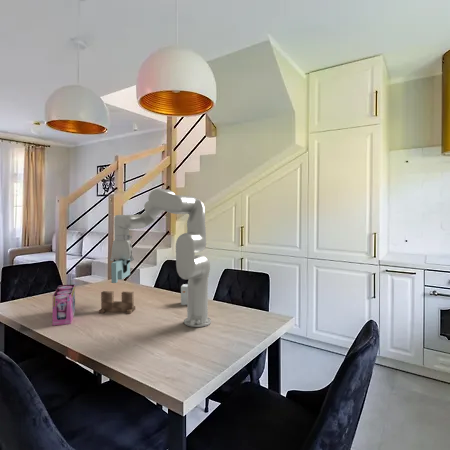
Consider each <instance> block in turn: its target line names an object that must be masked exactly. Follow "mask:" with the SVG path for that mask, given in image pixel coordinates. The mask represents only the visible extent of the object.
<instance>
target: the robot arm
mask: <svg viewBox="0 0 450 450" xmlns="http://www.w3.org/2000/svg"><path fill="white" fill-rule="evenodd" d="M143 206H144V207H143V208H144V212H142V213H141V214H116V215H115V216H114V217H113V219H114V221H113V222H114V223H113V224H114V225H113V226H114V227H113V228H114V229H113V230H114V231H113V232H114V236H113V237H114V240H113V241H112V246H111V256H110V259H109V261H111V262H112V263H113V262H115V261H117V260H120V259H124V266H123V273H125V272H126V271H127V264H128V263H129V262H130V263H131V262H132V261H135V259H134V256H133V255H134V254H133V243H132V241H131V240H130V239H132V237H133V236H132V235H130V230H141V229H144V228H147V227H148V226H150V225H152V224H153V223H154V222H155V220H156V219H157V217H158V216H159V215H160V214H162V213H163V212H168V213H170V214H174V215H185V214H187V215H188V218H187V220H186V230H187V231H186V232H185V233H181V234H180V235H179V236H178V237H177V239H176V242H175V266H176V272H177V274H178V276H179V277H180V278H181V279H182V280H188V281H187V284H188V286H187V305H186V306H187V308H186V311H187V315H186V316H187V317H186V318H184V319H183V323H184V325H186V326H187V327H191V328H202V327H206V326H209V325H210V324H211V323H212V320H211V318H210V317H209V315H208V314H209V312H208V310H209V307H208V305H209V303H208V302H209V296H208V295H209V293H208V292H209V275H210V270H211V263H210V261H209V259H208V258H207V256H205V255H202V254H198V253H201V252H203V251H204V250H206V246H207V232H206V230H207V229H206V228H207V227H206V207H205V204H204V203H203V202H202V200H201V199H199V198H197V197H195V196H192V195H181V194H180V195H179V194H176V193H175V192H174V191H172V190H170V189H164V188H155V189H153V190H151V192H150V193H149V195H148V200H147V201H146V202H145V203H144V205H143ZM128 259H130V260H128Z"/></svg>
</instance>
